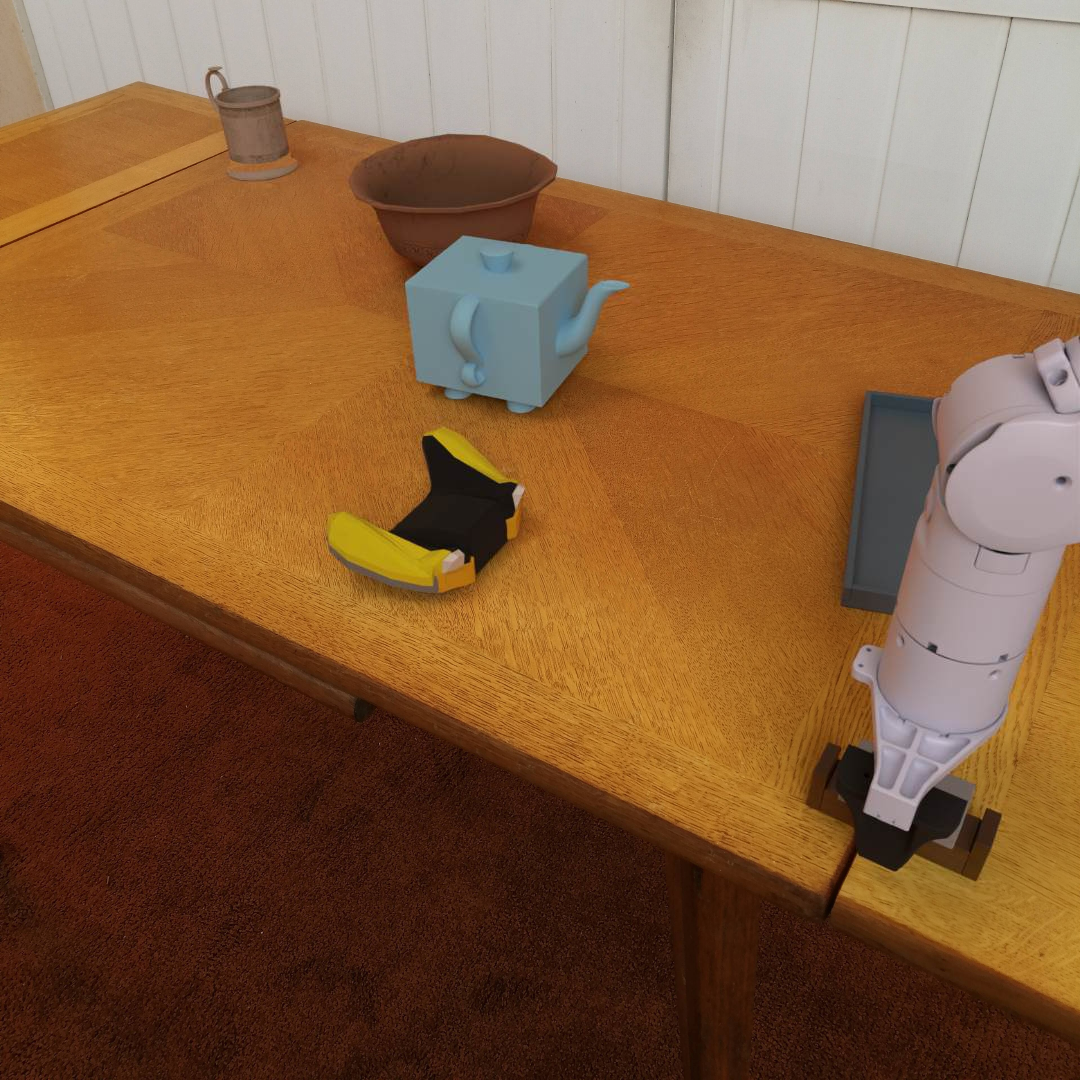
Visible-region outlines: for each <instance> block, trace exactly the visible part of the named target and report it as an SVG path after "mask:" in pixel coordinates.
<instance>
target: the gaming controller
mask: <svg viewBox="0 0 1080 1080" xmlns="http://www.w3.org/2000/svg"><path fill="white" fill-rule="evenodd" d="M421 450H422V454H423V457H424V462H425V466H426V470H427V474H428V478H429V483H430V484H429V485H430V490H429V492H428V493H427V495H426V496H425V498H423V499H422V501H420V503H418V504H417V506H416V507H414V508H413V509H412V510H411V511H410V512H409V513H408V514H407V515H405V516H404V518H402V519H401V521H399V522H398V523H397V524H396V525H395V526H394V527H393V528H392V529H390V530H385V529H382V528H380V527H378V526H376V524H373V523H371V522H370V521H368V520H366V519H364V518H362V517H359V516H358V515H355V514H353V513H350V512H349V511H347V510H342V511H338V512H333V513H329V515H328V518H327V522H326V523H327V525H326V541H327V547H328V551H329V552H330V553H331V554H332V555H333V556H334V557H335V558H336V559H337V560H338V561H340V563H342V564H343V566H344V567H346V568H347V569H348V570H350V571H352V572H355V573H358V574H360V575H362V576H365V577H368V578H370V579H373V580H375V581H377V582H380V583H382V584H384V585H387V586H389V587H392V588H397V589H402V590H407V591H411V592H415V593H416V592H417V593H423V594H438V595H440V594H444V593H447V592H450V591H452V590H455V589H457V588H461V587H465V586H470V585H472V584H473V583H475V582H476V576H477V575H478V574H479V573H480V572H481V571H482V569H484V567H485V566H486V565H488V563H489V562H490V561H491V560H492V559H493V558H494V557H495V555H497V553H498V552H499V551H500V550H501V549H502V548H503V547H504V545H505V544H507V543H508V541H510V540H512V539H515V538H517V537H518V535H519V532H520V527H521V522H522V514H523V503H522V497H523V494H524V492H525V490H526V486H525V485H523V484H522V483H520V481H519V480H517V479H515V478H507V477H506V476H505V475H504V474H503V473H502V472H500V470H499V469H498V468H496V467H495V466H494V465H493V464H492V463H491V462H490V461H489V460H488V459H487V458H486V457H485V456H484V455H483V454H482V453H481V452H479V451H478V449H476V447H474V445H472V444H471V443H470V441H468V440H467V439H466V438H465V437H464V436H463V435H462V434H461V433H459V432H457V431H454V430H452V429H450V428H448V427H446V426H441V427H438V428H436V429H435V428H434V429H432V430H429V431H426V432H425V433H423V435H422V438H421Z"/></svg>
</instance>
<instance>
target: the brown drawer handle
mask: <svg viewBox="0 0 1080 1080" xmlns="http://www.w3.org/2000/svg"><path fill="white" fill-rule="evenodd" d="M842 749H843V747H842V746H840V745H838V744H835V743H833V742H830V741H827V743H826V745H825V747H824V748H823V751H822V753H821V754H820V757H819V759H818V761H817V762H816V765H815V767H814V769H813V770H812V774H811V778H810V783H809V787H808V791H807V796H806V801H805V806H807V807H809V808H811V809H813V810H816V811H819V812H820V813H823V814H825V815H827V816H829V817H832V818H833V819H836V820H838V821H840V822H843V823H844V824H847V825H849V826H852V827H854V824H853V818H852V814H851V811H850V809H849V807H848V805H847V804H846V803H845V802H843V801H840V800H838V795H839V793H838V792H837V791H836V788H835V774H836V771H837V767H838V764H839V762H840V760H841V759H840V757H841V753H842ZM1002 817H1003V814H1002V813H1001V812H998V811H996V810H994V809H992V808H988V807H986V808H985V810H984V812H983V814H982V817H981V818H980V817H979V816H975V815H973V814H972V813H971V814H970V813H969V812H967V813H966V816H965V819H964V821H963V824H962V827H961V829H960V832H959V834H958V837H957V839H956V842H955V844H954V847H953V849H949V848H947V847H945V846H943V845H940V844H938V843H936V842H934V841H930V842H928V843H926V844H924V845H923V846H922V847H920V848H919V849H918V850H917V851H916V852H915V854H914V855H915V856H918V857H921V858H922V859H924V860H927V861H929V862H931V863H934V864H936V865H938V866H941V867H942V868H945V869H947V870H949V871H952V872H954V873H956V874H957V875H961V876H963V877H965V878H968V879H969V880H971V881H974V882H977V881H978V880H979V878H980V876H981V873H982V871H983V870H984V869H983V868H984V866H985V864H986V862H987V859H988V857H989V855H990V853H991V851H992V848H993V845H994V842H995V838H996V837H997V836H996V835H997V833H998V829H999V826H1000V822H1001V820H1002Z"/></svg>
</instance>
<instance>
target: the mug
mask: <svg viewBox="0 0 1080 1080" xmlns="http://www.w3.org/2000/svg"><path fill="white" fill-rule="evenodd" d="M207 70H208V71H207V73H205V77H204V84H205V85H204V86H205V90H206V94H207V97H208V99H209V101H210V104H211V105H212V107H213V109H214V110H215V111H216V113H217V114H219V116H220V121H221V125H222V130H223V135H224V138H225V143H226V147H227V152H228V156H229V157H230V159H231V160H232V161H235V162H238V163H242V164H260V163H267V162H273V161H276V160H278V159H281V158H282V157H284V156H286V155H287V154H288V153H289V150H290V147H289V141H288V136H287V131H286V125H285V120H284V114H283V110H282V109H283V108H282V104H281V99H280V98H281V91H280V89H279V88H278V87H274V86H271V85H263V84H259V85H257V84H255V85H245V86H237V87H232V88H231V87H229V85H228V81H227V79H226V78H225V76H224V75H223V74H222V72H220V70H223V66H212V67H211V66H210V67H208V68H207ZM212 75H215V76H216V77H217V78H218V79H219V81H220V83H221V86H222V88H221V91H220V92H218V93H217V94H216V95H215V96H214V93H213V90H212V86H211V76H212ZM297 163H298V165H297ZM297 163H295V164H296V165H294V164H293V165H294V166H295V167H293V166H292V167H286V168H287V169H286V168H285V167H284V169H283V168H281V167H279V168H280V169H279V168H278V169H271V170H267V171H262V172H261V171H258V172H244V171H238V170H237V172H236V171H235V172H232V171H233V169H231V171H230V169H229V172H230V173H231V174H230V173H229V172H226V171H225V174H226V175H227V176H228V177H229V178H231V179H234V180H237V181H246V182H247V181H248V182H249V181H250V182H251V181H252V182H253V181H254V182H256V181H267V180H273V179H277V178H280V177H284V176H286V175H290V174H291V173H293V172H295V171H296V170H297V169H298V168H299V166H300V165H299V160H297ZM296 166H297V167H296ZM234 170H235V169H234ZM227 173H229V174H227Z"/></svg>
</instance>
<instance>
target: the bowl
mask: <svg viewBox="0 0 1080 1080" xmlns="http://www.w3.org/2000/svg"><path fill="white" fill-rule="evenodd" d="M558 168H559V167H558V165H557V164H556V163H554V162H553V160H551V159H550V158H548V157H547V156H546V155H543V154H542V153H539V152H537V151H535V150H533V149H531V148H529V147H526V146H524V145H523V144H520V143H517V142H513V141H509V140H506V139H503V138H498V137H495V136H490V135H488V134H487V135H486V134H467V133H464V134H463V133H444V134H439V135H432V136H425V137H421V138H415V139H411V140H407V141H404V142H401V143H397V144H396V145H392V146H390V147H386V148H383V149H380V150H378V151H376V152H374V153H373V154H371V155H369V156H367V157H366V158H364V159H361V161H358V162H357V163H356V164H355V166H354V168H353V170H352V172H351V173H350V176H349V177H348V178H347V179H348V181H347V182H348V185H349V187H350V189H351V191H352V193H353V196H354V198H355V200H357V201H359V202H362V203H364V204H366V205H369V206H370V207H372V209H373V211H374V213H375V215H376V217H377V221H378V222H379V225H380V227H381V230H382V231H383V233H384V235H385V237H386V239H387V242H388V243H389V246H390V247H391V248H392V249H393V251H394V252H395V253H396V254H397V255H399V256H400V257H402V258H404V259H406V260H408V261H410V262H412V263H413V264H415V265H418V266H420V270H421V269H423V268H424V267H425V266H426V265H427V264H429V263H430V262H431V261H432V260H433V259H435V258H436V257H437V256H438V255H440V254H441V253H442V252H443V251H445V250H446V249H447V248H448V247H450V246H451V245H452V244H453V243H455V242H456V241H457V240H458V239H460V238H461V237H462V236H470V237H477V238H484V239H491V240H497V241H504V242H511V243H517V244H525V242H526V241H527V239H528V237H529V234H530V232H531V227H532V223H533V219H534V216H535V212H536V206H537V201H538V196H539V194H540V192H541V191H543V190H544V189H546V188H547V187H548V186H549V185H551V184H552V183H554V182H555V181H556V177H557V174H558Z"/></svg>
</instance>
